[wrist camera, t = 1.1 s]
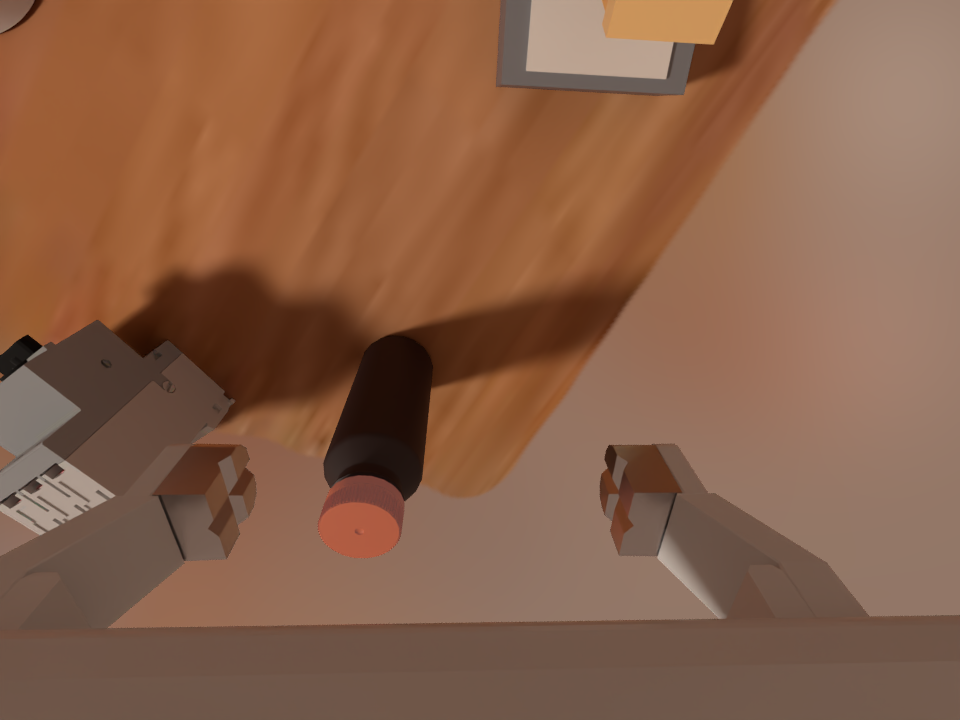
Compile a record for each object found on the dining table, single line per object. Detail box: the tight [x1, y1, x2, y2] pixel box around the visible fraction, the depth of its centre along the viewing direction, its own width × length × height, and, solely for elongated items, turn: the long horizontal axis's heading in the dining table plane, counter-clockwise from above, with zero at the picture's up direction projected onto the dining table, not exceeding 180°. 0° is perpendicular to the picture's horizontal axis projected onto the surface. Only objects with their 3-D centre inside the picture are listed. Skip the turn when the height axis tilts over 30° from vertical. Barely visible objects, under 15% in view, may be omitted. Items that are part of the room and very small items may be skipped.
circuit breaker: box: [0, 320, 235, 535], centre depth 38 cm, size 8×14×15 cm, turn 33°
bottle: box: [318, 336, 433, 558], centre depth 37 cm, size 7×7×20 cm
